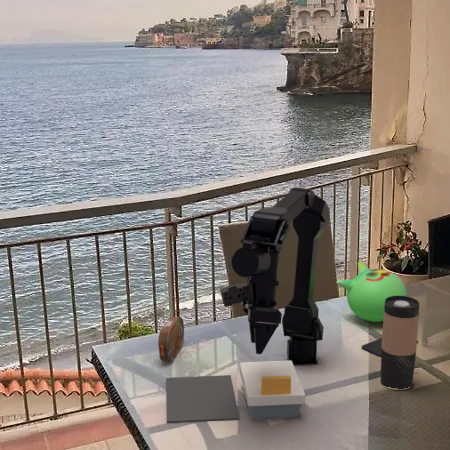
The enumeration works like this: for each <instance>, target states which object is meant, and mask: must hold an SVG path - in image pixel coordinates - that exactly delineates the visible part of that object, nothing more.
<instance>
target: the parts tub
mask: <svg viewBox="0 0 450 450" xmlns="http://www.w3.org/2000/svg"><path fill="white" fill-rule="evenodd" d="M247 407H248V411H249V415H250V418H251V421H266V420H269V421H270V420H288V419H289V420H290V419H291V420H293V419H300V415H301V414H300V413H301V410H300V409H301V408H300V407H301V404H289V405H267V406H248V405H247Z"/></svg>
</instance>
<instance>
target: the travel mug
mask: <svg viewBox="0 0 450 450" xmlns="http://www.w3.org/2000/svg"><path fill="white" fill-rule="evenodd" d="M419 315H420V302H419V300H417V298H414V297H412V296H411V297H410V296H407V295H406V296H391V297H388V298H386V299H385V307H384V320H383V321H382V323H383V325H382V335H381V336H382V337H381V338H382V346H381V347H382V348H381V357H380V384H381V385H382V386H383V385H384V386H386V387H391V388H398V389H404V388H408V387H410V386H412V387H413V383H414V375H415V366H416V356H417V347H418V346H417V345H418V343H417V341H418V334H419V333H418V331H419V330H418V329H419V317H420V316H419ZM384 386H383V387H384ZM386 387H385V388H386Z"/></svg>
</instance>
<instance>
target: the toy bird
mask: <svg viewBox="0 0 450 450" xmlns="http://www.w3.org/2000/svg"><path fill="white" fill-rule="evenodd" d="M357 269H358V274H357V275H356V276H355V277H354V278H353V279H338V280H336V285H337V286H340V288H343V289H345V291H346V292H347V293H346V299H347V303H348V306H349V308H350V310H351V311H352V313H353V314H354V315H356V316H357V317H359V318H360V319H362V320H364V321H368V322H371V323H372V322H373V323H377V322H378V323H379V322H380V323H381V322H383V320H384V307H385V299H386V298H388V297H391V296H407V289H406V286H405V284H404V282H403V280H402V279H401V278H400V277H399V276H398V275H397V274H395V273H393V272H391V271H388V270H384V269H377V268H374V269H370V268H369V267H368V266H367V265H366V263H364V262H363V261H362V260H359V261H358V263H357Z"/></svg>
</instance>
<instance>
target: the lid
mask: <svg viewBox="0 0 450 450" xmlns="http://www.w3.org/2000/svg"><path fill="white" fill-rule="evenodd" d="M239 373H240V377H241V382H242V387H243V391H244V395H245V399H246V400H245V401H246V402H247V403H246V404H247V407H248V406H267V405H289V404H300V405H305V404H306V394H305V391H304V388H303V385H302V383H301V381H300V379H299V378H300V377H299V376H298V374H297V371H296V368H295V365H293V363H292V361H290V360H277V361H276V360H272V361H270V360H269V361H248V362H247V361H245V362H244V361H243V362H239Z"/></svg>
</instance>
